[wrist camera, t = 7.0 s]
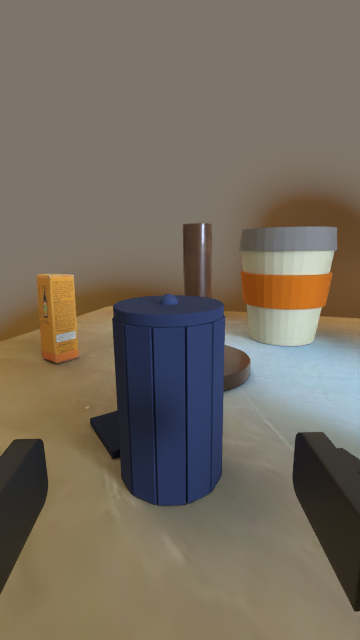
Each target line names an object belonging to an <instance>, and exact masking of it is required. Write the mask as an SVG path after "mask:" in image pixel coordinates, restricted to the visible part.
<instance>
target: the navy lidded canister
mask: <svg viewBox="0 0 360 640" xmlns="http://www.w3.org/2000/svg"><path fill="white" fill-rule="evenodd" d="M113 312H114V317H113V319H112V321H113V338H114V355H115V373H116V390H117V407H118V411H115V412H111V413H108V414H104V415H101V416H97V417H93V418H90V424H91V425H92V427H93V428H94V430H95V432H96V433H97V435H98V436H99V438H100V439H101V441H102V442H103V444H104V445H105V447H106V448H107V450H108V452H109V453H110V455H111V456H112V458H115V457H118V456H120V459H121V476H122V480H123V481H124V483H125V484H126V486H127V487H128V489H129V491H130V492H131V494H133V495H134V496H136V497H138V498H140V499H143V500H145V501H147V502H150V503H152V504H154V505H156V504H157V503H158V505H159V506H160V505H186V502H187V503H188V504H189V503H191V502H193V501H195V500H197V499H199V498H201V497H204V496H206V495H208V494H210V491H211V492H212V490H213V489H214V487H215V485H216V484H217V482H218V480H219V479H220V477H221V474H222V434H223V388H224V341H225V316H224V304H223V303H222V302H221V301H219V300H216V299H212V298H206V297H198V296H181V295H177V296H176V295H172V294H165V295H164V296H147V297H139V298H132V299H127V300H123V301H120V302H118V303H116V304H114V306H113Z"/></svg>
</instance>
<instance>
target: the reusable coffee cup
mask: <svg viewBox="0 0 360 640" xmlns="http://www.w3.org/2000/svg"><path fill="white" fill-rule="evenodd" d="M334 250H337V228H336V227H274V228H256V229H245V230H242V237H241V243H240V251H242V258H243V269H244V271H241V280H242V290H243V301H244V303H246V304H247V313H248V324H249V335H250V338H252V339H253V340H255V341H258V342H261V343H265V344H271V345H278V346H301V345H307V344H310V343H312V342H313V341H314V338H315V334H316V329H317V325H318V321H319V316H320V312H321V307H323V306H325V304H326V300H327V296H328V291H329V286H330V283H331V278H332V274H333V273H332V272H330V268H331V263H332V259H333V254H334Z"/></svg>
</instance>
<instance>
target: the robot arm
mask: <svg viewBox="0 0 360 640" xmlns="http://www.w3.org/2000/svg"><path fill="white" fill-rule="evenodd" d="M293 485H294V490H295V493H296V496H297V498H298V500H299V502H300V504H301V506H302V508H303V510H304V512H305V514H306V516H307V518H308V520H309V522H310V524H311V526H312V528H313V530H314V532H315V534H316V536H317V538H318V540H319V542H320V544H321V546H322V548H323V550H324V552H325V554H326V556H327V558H328V560H329V562H330V564H331V566H332V568H333V570H334V572H335V573H336V575H337V577H338V579H339V581H340V583H341V585H342V587H343V589H344V591H345V593H346V595H347V597H348V599H349V601H350V603H351V605H352V607H353V609H354V611H360V460H359V459H358V458H357V457H355V456H354V455H352V454H350V453H349V452H347V451H346V450H344V449H343V448H336V447H335V446H334V444H333V443H332V442H331V441H330V440H329V438H328V437H327V436H326V435H325V434H324V433H323V432H304V433H297V435H296V439H295V451H294V464H293ZM47 492H48V477H47V468H46V460H45V451H44V444H43V441H42V440H41V439H16V440H14V441H13V442H12V443H11V444H10V445H9V447H8V448H7V449H6V450H5V452H4V453H3V454H2V455H1V457H0V594H1V592H2V590H3V588H4V586H5V584H6V582H7V580H8V578H9V575H10V573H11V571H12V569H13V567H14V565H15V563H16V561H17V559H18V557H19V555H20V553H21V551H22V549H23V547H24V545H25V543H26V541H27V539H28V536H29V534H30V532H31V530H32V528H33V526H34V524H35V522H36V520H37V518H38V516H39V514H40V512H41V510H42V508H43V506H44V503H45V501H46V497H47Z"/></svg>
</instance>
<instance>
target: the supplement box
mask: <svg viewBox="0 0 360 640" xmlns="http://www.w3.org/2000/svg"><path fill="white" fill-rule="evenodd" d="M37 289H38V302H39V318H40V332H41V345H42V357H43V358H44V359H47V360H50V361H53V362H54V363H61V362H65V361H69V360H72V359H75V358H78V357H79V352H78V338H77V321H76V307H75V292H74V275H65V274H38V275H37Z"/></svg>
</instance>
